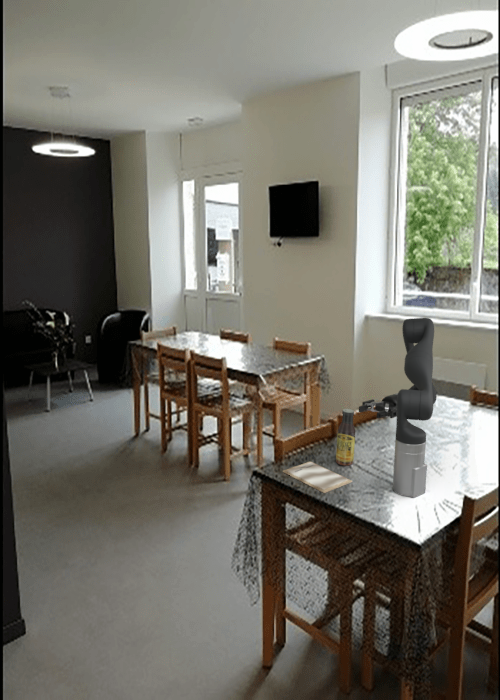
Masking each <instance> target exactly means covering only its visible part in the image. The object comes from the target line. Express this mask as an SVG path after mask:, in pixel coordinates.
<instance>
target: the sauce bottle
mask: <svg viewBox="0 0 500 700" xmlns="http://www.w3.org/2000/svg"><path fill="white" fill-rule="evenodd" d="M341 414H342V418H341V419H342V420H341V422H340V424H339V426H338V431H337V437H336V440H337V441H336V450H335V451H336V452H335V462H336V464H337V465H340V466H345V467H346V466H347V467H348V466H351V465H353V464H354V457H355V442H356V432H357V431H356V427H355V426H354V415H355V410H354V409H350V408H343V409H342V412H341Z"/></svg>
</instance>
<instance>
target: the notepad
mask: <svg viewBox="0 0 500 700" xmlns="http://www.w3.org/2000/svg"><path fill="white" fill-rule="evenodd" d="M282 473H284V474H286V475H288V476H289V475H290V477H291V478H293V479H295V480H297V481H300V482H302V483H304V484H306V485H307V486H310V487H311V488H313V489H315V490H317V491H319V492H321V493H323V494H325V493H328V492H331V491H333V490H336V489H338V488H341V487H343V486H345V485H348V484H350V483H353V480H351V479H350V478H347V477H345V476H343V475H341V474H338V473H336V472H334V471H332V470H330V469H328V468H326V467H323V466H321V465H320V464H317V463H315V462H313V461H307V462H304V463H302V464H299V465H295V466H292V467H290V468H288V469H283V470H282Z"/></svg>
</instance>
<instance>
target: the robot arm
mask: <svg viewBox="0 0 500 700" xmlns="http://www.w3.org/2000/svg"><path fill="white" fill-rule="evenodd" d="M402 338H403V343H404V347H405V351H406V354H405V358H404V367H403V369H404V370H403V371H404V374H405V376H406V377H407V379H408V380H409V381H410V382H411V384H413V385H412V386H411V387H410V388H408V389H403V388H402V389H400V390H399V391H398V392H397V393H393V394H390V395H387V396H384V397H383V398H382V400H381V401H380V400H379V401H375V399H369V400H365V401H362V404H361V405H360V406H358V412H359V413H364V412H366V411H367V412H368V411H370V412H372V413H373V412H376V419H381V418H390V419H394V418H396V428H395V441H394V455H393V456H394V458H393V473H392V475H393V476H392V479H393V480H392V490H393V491H394V493H396V494H398V495H401V496H405V497H411V498H414V499H415V498H416V497H419V496H420V495H423V494H425V493H426V487H427V486H426V485H427V470H428V465H427V464H426V463H425V462H426V461H425V458H426V444H427V443H426V442H427V433H426V431H425V430H424V429H422V428H421V427H419V426H417V425H415V424H412V423H411V422H410V421H409V420H413V421H428V420H431V418H432V416H433V413H434V404H435V403H436V401H437V397H438V396H437V390H436V388H435V386H434V383H433V369H434V357H433V355H434V352H433V348H434V347H433V345H434V338H435V324H434V321H433V320H432V319H431V318H430V317H429V318H428V317H419V318H418V317H415V318H406V319H404V321H403V322H402Z"/></svg>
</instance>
